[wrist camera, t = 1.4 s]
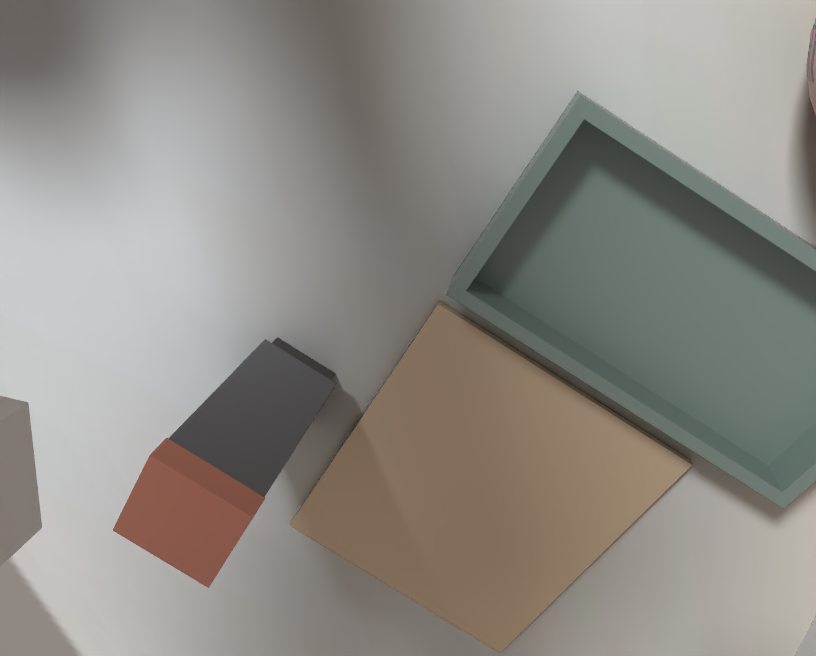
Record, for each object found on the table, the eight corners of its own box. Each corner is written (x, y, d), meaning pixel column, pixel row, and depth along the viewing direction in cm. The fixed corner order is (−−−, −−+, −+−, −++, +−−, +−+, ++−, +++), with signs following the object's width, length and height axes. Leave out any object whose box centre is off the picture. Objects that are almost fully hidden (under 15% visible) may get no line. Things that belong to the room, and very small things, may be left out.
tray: (453, 275, 30) (446, 294, 28) (577, 90, 26) (580, 95, 24) (766, 474, 31) (783, 508, 28) (932, 324, 27) (967, 350, 25)
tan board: (292, 520, 37) (289, 525, 37) (439, 300, 31) (438, 304, 30) (500, 647, 38) (500, 653, 38) (690, 460, 31) (692, 465, 31)
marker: (241, 387, 35) (112, 530, 24) (274, 328, 33) (150, 454, 23) (308, 429, 35) (208, 587, 25) (344, 372, 33) (252, 517, 23)
